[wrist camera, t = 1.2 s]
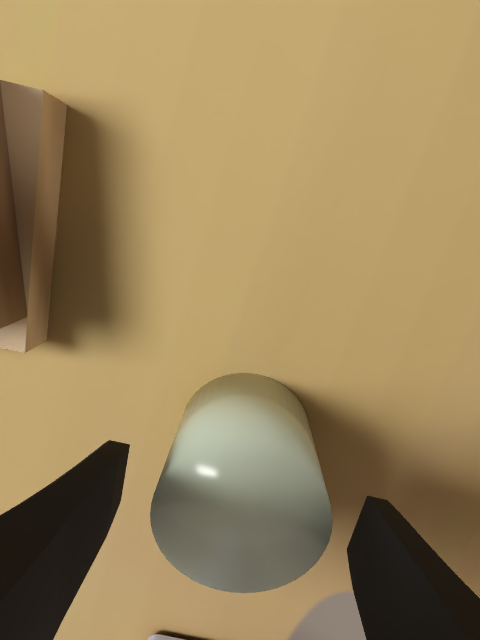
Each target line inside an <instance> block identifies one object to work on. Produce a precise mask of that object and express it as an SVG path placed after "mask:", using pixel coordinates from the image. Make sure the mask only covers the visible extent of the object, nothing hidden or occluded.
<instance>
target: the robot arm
mask: <svg viewBox="0 0 480 640" xmlns="http://www.w3.org/2000/svg"><path fill="white" fill-rule="evenodd" d="M129 447H130V445H129V444H125V443H120V442H115V441H111V440H109V441H107V442H106V443H104V444H103V445H102V446H100V447H99V448H98V449H97V450H95V451H94V452H93V453H92V454H90V455H89V456H88V457H86V458H85V459H84V460H82V461H81V462H80V463H79V464H77V465H76V466H75V467H73V468H72V469H70V470H69V471H68V472H66V473H65V474H63V475H62V476H61V477H59V478H58V479H56V480H55V481H54V482H52V483H51V484H49V485H48V486H46V487H45V488H43V489H42V490H40V491H39V492H37V493H36V494H34V495H33V496H31V497H29V498H28V499H26V500H25V501H23V502H22V503H20V504H18V505H17V506H15V507H14V508H12V509H10V510H9V511H7V512H5V513H3V514H2V515H0V640H53V639H54V637H55V635H56V633H57V630H58V628H59V626H60V624H61V622H62V620H63V618H64V616H65V614H66V613H67V611H68V609H69V607H70V605H71V603H72V601H73V599H74V597H75V596H76V594H77V592H78V590H79V588H80V586H81V584H82V582H83V580H84V579H85V577H86V575H87V573H88V571H89V569H90V567H91V565H92V563H93V561H94V560H95V558H96V556H97V554H98V552H99V550H100V548H101V546H102V544H103V542H104V540H105V538H106V536H107V534H108V532H109V529H110V527H111V524H112V522H113V519H114V517H115V514H116V512H117V509H118V507H119V504H120V501H121V496H122V490H123V483H124V477H125V471H126V465H127V459H128V453H129ZM347 554H348V561H349V568H350V575H351V581H352V587H353V591H354V595H355V599H356V602H357V606H358V610H359V614H360V617H361V621H362V625H363V628H364V632H365V636H366V639H367V640H480V598H479V597H478V596H477V595H476V594H475V593H474V592H473V591H472V590H471V589H470V588H469V587H468V586H467V585H466V584H465V583H464V582H463V581H462V580H461V579H460V578H459V577H458V576H457V575H456V574H455V573H454V572H453V571H452V570H451V569H450V568H449V566H448V565H447V564H446V563H445V562H444V561H443V560H442V559H441V558H440V557H439V556H438V555H437V554H436V552H435V551H434V550H433V549H432V548H431V547H430V546H429V545H428V544H427V543H426V542H425V540H424V539H423V538H422V537H421V536H420V535H419V534H418V533H417V532H416V530H415V529H414V528H413V527H412V526H411V525H410V524H409V523H408V522H407V520H406V519H405V518H404V517H403V516H402V515H401V514H400V513H399V512H398V511H397V510H396V509H395V507H394V506H393V505H392V504H391V503H390V502H389V501H388V500H384V499H380V498H375V497H371V496H367V498H366V500H365V503H364V506H363V508H362V511H361V513H360V516H359V519H358V521H357V524H356V527H355V529H354V532H353V534H352V537H351V540H350V542H349V545H348V547H347ZM148 640H185V639H180V638H175V637H170V636H165V635H160V634H155V635H152V636H150V637H149V638H148Z"/></svg>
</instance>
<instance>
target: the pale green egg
mask: <svg viewBox="0 0 480 640" xmlns="http://www.w3.org/2000/svg"><path fill="white" fill-rule="evenodd" d="M150 518H151V527H152V532H153V535H154V538H155V540H156V543H157V545H158V546H159V548H160V550H161V552H162V553H163V554H164V556H165V557H166V559H167V560H168V561H169V562H170V563H171V564H172V565H173V566H174V567H175V568H176V569H178V570H179V571H180V572H181V573H183V574H184V575H186V576H187V577H189V578H190V579H192V580H194V581H196V582H198V583H200V584H202V585H205V586H208V587H210V588H214V589H217V590H221V591H227V592H235V593H254V592H261V591H267V590H271V589H275V588H278V587H281V586H283V585H286V584H288V583H290V582H292V581H294V580H296V579H297V578H299V577H300V576H302V575H303V574H305V573H306V572H307V571H308V570H309V569H310V568H312V567H313V566H314V564H315V563H316V562H317V561H318V560H319V559H320V557H321V556H322V554H323V552H324V551H325V549H326V547H327V544H328V542H329V539H330V535H331V531H332V522H333V521H332V510H331V505H330V501H329V497H328V493H327V490H326V486H325V482H324V478H323V475H322V471H321V467H320V464H319V460H318V456H317V453H316V449H315V445H314V441H313V438H312V434H311V430H310V427H309V423H308V419H307V416H306V413H305V410H304V408H303V406H302V405H301V403H300V401H299V400H298V399H297V397H296V396H295V395H294V394H293V393H292V392H291V391H290V390H289V389H288V388H286V387H285V386H284V385H282V384H281V383H279V382H277V381H275V380H273V379H271V378H268V377H265V376H262V375H257V374H251V373H238V374H230V375H226V376H222V377H219V378H217V379H215V380H213V381H211V382H209V383H207V384H206V385H204V386H203V387H202V388H200V389H199V390H198V391H197V392H196V393H195V394H194V395H193V397H192V398H191V399H190V401H189V402H188V404H187V406H186V408H185V410H184V413H183V416H182V418H181V421H180V424H179V427H178V429H177V432H176V435H175V438H174V440H173V443H172V446H171V449H170V451H169V454H168V457H167V460H166V462H165V465H164V468H163V471H162V473H161V476H160V479H159V482H158V484H157V487H156V490H155V493H154V496H153V499H152V503H151V511H150Z"/></svg>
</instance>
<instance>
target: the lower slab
mask: <svg viewBox="0 0 480 640" xmlns="http://www.w3.org/2000/svg"><path fill="white" fill-rule="evenodd" d="M0 84H1V93H2V102H3V110H4V119H5V127H6V136H7V145H8V153H9V162H10V170H11V179H12V188H13V196H14V205H15V213H16V222H17V230H18V239H19V248H20V256H21V265H22V273H23V282H24V291H25V299H26V308H27V316H28V317H26V318H24V319H22V320H19V321H17V322H15V323H12V324H10V325H8V326H5V327H3V328H1V329H0V348H4V349H8V350H13V351H18V352H22V353H26V352H28V351H29V350H31V349H33V348H34V347H36V346H38V345H40V344H41V343H43V342H45V341H46V340H47V334H48V322H49V310H50V299H51V287H52V276H53V264H54V253H55V241H56V229H57V218H58V206H59V195H60V183H61V172H62V160H63V149H64V137H65V125H66V114H67V105H66V104H65V103H63V102H62V101H60V100H58V99H57V98H55V97H53V96H52V95H50V94H49V93H47V92H45V91H44V90H40V89H36V88H32V87H28V86H23V85H19V84H15V83H11V82H6V81H2V80H0Z"/></svg>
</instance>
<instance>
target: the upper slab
mask: <svg viewBox="0 0 480 640" xmlns="http://www.w3.org/2000/svg"><path fill="white" fill-rule="evenodd" d="M26 317H28V316H27V308H26V299H25V291H24V282H23V273H22V265H21V256H20V248H19V239H18V230H17V222H16V213H15V205H14V196H13V188H12V179H11V170H10V162H9V153H8V145H7V136H6V127H5V119H4V110H3V102H2V93H1V84H0V329H1V328H3V327H5V326H8V325H10V324H12V323H15V322H17V321H19V320H22V319H24V318H26Z"/></svg>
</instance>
